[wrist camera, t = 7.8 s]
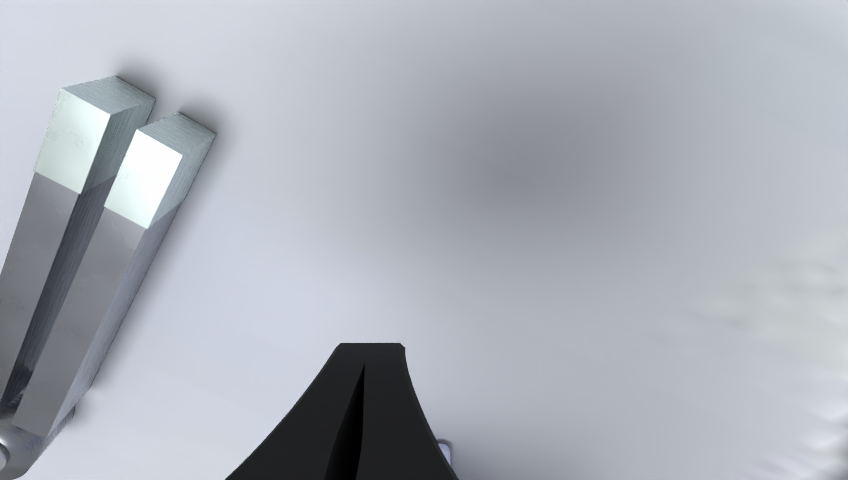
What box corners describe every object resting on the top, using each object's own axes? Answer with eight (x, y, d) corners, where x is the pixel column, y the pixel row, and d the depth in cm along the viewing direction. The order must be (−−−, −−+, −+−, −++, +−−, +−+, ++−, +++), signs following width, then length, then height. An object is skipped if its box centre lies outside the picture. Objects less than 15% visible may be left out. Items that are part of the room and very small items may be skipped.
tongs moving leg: (44, 369, 24) (-5, 417, 21) (10, 355, 23) (-44, 402, 20) (155, 99, 19) (110, 115, 16) (114, 76, 18) (61, 88, 16)
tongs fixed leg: (64, 439, 25) (15, 500, 22) (-7, 410, 24) (-69, 468, 21) (216, 134, 19) (176, 159, 16) (128, 82, 18) (69, 97, 15)
